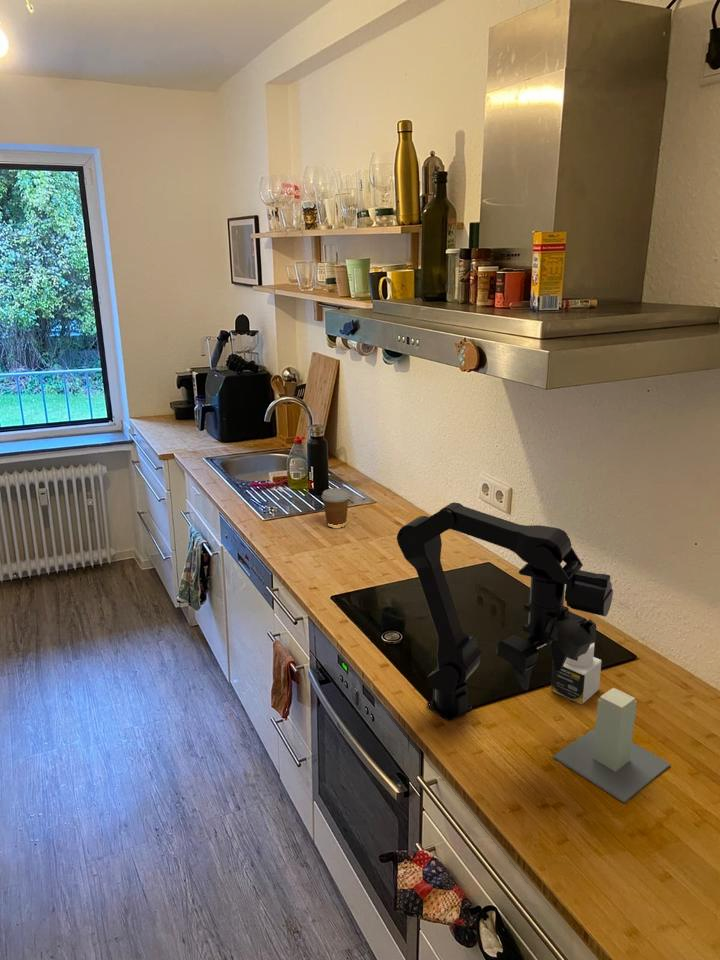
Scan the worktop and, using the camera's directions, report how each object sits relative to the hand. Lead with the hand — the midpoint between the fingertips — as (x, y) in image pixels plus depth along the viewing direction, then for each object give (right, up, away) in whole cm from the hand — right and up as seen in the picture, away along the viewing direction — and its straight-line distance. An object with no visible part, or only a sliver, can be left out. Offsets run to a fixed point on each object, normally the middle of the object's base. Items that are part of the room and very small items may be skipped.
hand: (541, 679), depth 124 cm
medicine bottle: (+11, -8, +18) cm, 23 cm away
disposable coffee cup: (-40, +20, +111) cm, 120 cm away
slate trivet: (+11, -14, -3) cm, 18 cm away
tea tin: (+12, -13, -3) cm, 18 cm away
